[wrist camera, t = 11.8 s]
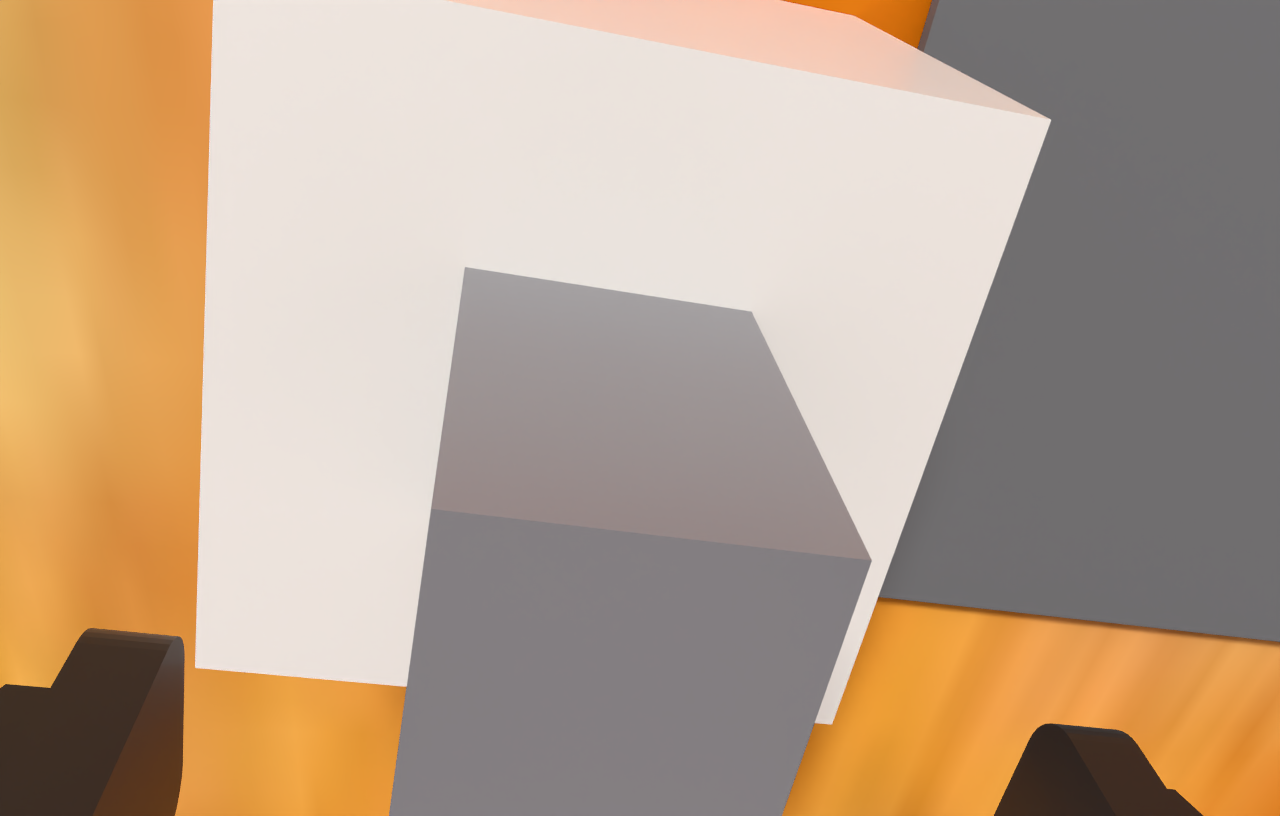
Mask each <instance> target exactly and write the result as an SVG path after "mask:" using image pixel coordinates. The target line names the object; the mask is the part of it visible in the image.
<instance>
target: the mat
mask: <svg viewBox="0 0 1280 816" xmlns="http://www.w3.org/2000/svg"><path fill="white" fill-rule="evenodd" d="M918 50H920V51H922V52H924V53H926V54H927V55H929V56H931V57H933V58H935V59H937V60H939V61H941V62H943V63H945V64H946V65H948V66H950V67H952V68H954V69H956V70H958V71H960V72H962V73H963V74H965V75H967V76H969V77H971V78H973V79H975V80H977V81H979V82H981V83H982V84H984V85H986V86H988V87H990V88H992V89H994V90H996V91H998V92H1000V93H1001V94H1003V95H1005V96H1007V97H1009V98H1011V99H1013V100H1015V101H1017V102H1018V103H1020V104H1022V105H1024V106H1026V107H1028V108H1030V109H1032V110H1034V111H1036V112H1037V113H1039V114H1041V115H1043V116H1045V117H1047V118H1049V119H1051V122H1050V125H1049V128H1048V130H1047V133H1046V136H1045V139H1044V141H1043V144H1042V147H1041V150H1040V152H1039V155H1038V158H1037V161H1036V163H1035V166H1034V169H1033V172H1032V174H1031V177H1030V180H1029V183H1028V185H1027V188H1026V191H1025V194H1024V196H1023V199H1022V202H1021V205H1020V208H1019V210H1018V213H1017V216H1016V219H1015V221H1014V224H1013V227H1012V230H1011V232H1010V235H1009V238H1008V241H1007V243H1006V246H1005V249H1004V252H1003V254H1002V257H1001V260H1000V263H999V265H998V268H997V271H996V274H995V276H994V279H993V282H992V285H991V287H990V290H989V293H988V296H987V298H986V301H985V304H984V307H983V309H982V312H981V315H980V318H979V320H978V323H977V326H976V329H975V331H974V334H973V337H972V340H971V343H970V345H969V348H968V351H967V354H966V356H965V359H964V362H963V365H962V367H961V370H960V373H959V376H958V378H957V381H956V384H955V387H954V389H953V392H952V395H951V398H950V400H949V403H948V406H947V409H946V411H945V414H944V417H943V420H942V422H941V425H940V428H939V431H938V433H937V436H936V439H935V442H934V444H933V447H932V450H931V453H930V455H929V458H928V461H927V464H926V466H925V469H924V472H923V475H922V477H921V480H920V483H919V486H918V489H917V491H916V494H915V497H914V500H913V502H912V505H911V508H910V511H909V513H908V516H907V519H906V522H905V524H904V527H903V530H902V533H901V535H900V538H899V541H898V544H897V546H896V549H895V552H894V555H893V557H892V560H891V563H890V566H889V568H888V571H887V574H886V577H885V579H884V582H883V585H882V588H881V590H880V593H879V596H878V597H884V598H893V599H902V600H911V601H920V602H929V603H938V604H947V605H956V606H965V607H974V608H983V609H992V610H1001V611H1009V612H1018V613H1027V614H1036V615H1045V616H1054V617H1063V618H1072V619H1081V620H1090V621H1099V622H1108V623H1117V624H1126V625H1135V626H1144V627H1153V628H1161V629H1170V630H1179V631H1188V632H1197V633H1206V634H1215V635H1224V636H1233V637H1242V638H1251V639H1260V640H1269V641H1278V642H1280V0H932V3H931V6H930V9H929V13H928V16H927V19H926V23H925V26H924V29H923V33H922V36H921V39H920V43H919V46H918Z"/></svg>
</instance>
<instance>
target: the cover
mask: <svg viewBox="0 0 1280 816" xmlns="http://www.w3.org/2000/svg"><path fill="white" fill-rule="evenodd" d="M1050 122H1051V119H1049V118H1047V117H1045V116H1043V115H1041V114H1039V113H1037V112H1036V111H1034V110H1032V109H1030V108H1028V107H1026V106H1024V105H1022V104H1020V103H1018V102H1017V101H1015V100H1013V99H1011V98H1009V97H1007V96H1005V95H1003V94H1001V93H1000V92H998V91H996V90H994V89H992V88H990V87H988V86H986V85H984V84H982V83H981V82H979V81H977V80H975V79H973V78H971V77H969V76H967V75H965V74H963V73H962V72H960V71H958V70H956V69H954V68H952V67H950V66H948V65H946V64H945V63H943V62H941V61H939V60H937V59H935V58H933V57H931V56H929V55H927V54H926V53H924V52H922V51H920V50H918V49H916V48H914V47H912V46H910V45H908V44H907V43H905V42H903V41H901V40H899V39H897V38H895V37H893V36H891V35H890V34H888V33H886V32H884V31H882V30H880V29H878V28H876V27H874V26H872V25H871V24H869V23H867V22H865V21H863V20H861V19H859V18H857V17H855V16H853V15H848V14H843V13H839V12H834V11H829V10H824V9H819V8H814V7H810V6H805V5H800V4H795V3H790V2H786V1H781V0H213V30H212V67H211V104H210V141H209V178H208V215H207V251H206V288H205V325H204V362H203V399H202V436H201V472H200V509H199V546H198V583H197V620H196V657H195V668H204V669H215V670H226V671H237V672H249V673H260V674H271V675H282V676H293V677H305V678H316V679H327V680H338V681H350V682H361V683H372V684H383V685H394V686H406V687H407V688H406V695H405V703H404V710H403V717H402V725H401V732H400V739H399V747H398V754H397V761H396V769H395V776H394V783H393V791H392V798H391V805H390V813H389V816H782V814H783V811H784V808H785V805H786V802H787V799H788V797H789V794H790V791H791V788H792V785H793V782H794V780H795V777H796V774H797V771H798V768H799V765H800V763H801V760H802V757H803V754H804V751H805V749H806V746H807V743H808V740H809V737H810V734H811V732H812V729H813V726H814V723H821V724H832V723H833V720H834V717H835V714H836V712H837V709H838V706H839V703H840V701H841V698H842V695H843V692H844V690H845V687H846V684H847V681H848V679H849V676H850V673H851V670H852V668H853V665H854V662H855V659H856V657H857V654H858V651H859V648H860V646H861V643H862V640H863V637H864V635H865V632H866V629H867V626H868V624H869V621H870V618H871V615H872V612H873V610H874V607H875V604H876V601H877V599H878V596H879V593H880V590H881V588H882V585H883V582H884V579H885V577H886V574H887V571H888V568H889V566H890V563H891V560H892V557H893V555H894V552H895V549H896V546H897V544H898V541H899V538H900V535H901V533H902V530H903V527H904V524H905V522H906V519H907V516H908V513H909V511H910V508H911V505H912V502H913V500H914V497H915V494H916V491H917V489H918V486H919V483H920V480H921V477H922V475H923V472H924V469H925V466H926V464H927V461H928V458H929V455H930V453H931V450H932V447H933V444H934V442H935V439H936V436H937V433H938V431H939V428H940V425H941V422H942V420H943V417H944V414H945V411H946V409H947V406H948V403H949V400H950V398H951V395H952V392H953V389H954V387H955V384H956V381H957V378H958V376H959V373H960V370H961V367H962V365H963V362H964V359H965V356H966V354H967V351H968V348H969V345H970V343H971V340H972V337H973V334H974V331H975V329H976V326H977V323H978V320H979V318H980V315H981V312H982V309H983V307H984V304H985V301H986V298H987V296H988V293H989V290H990V287H991V285H992V282H993V279H994V276H995V274H996V271H997V268H998V265H999V263H1000V260H1001V257H1002V254H1003V252H1004V249H1005V246H1006V243H1007V241H1008V238H1009V235H1010V232H1011V230H1012V227H1013V224H1014V221H1015V219H1016V216H1017V213H1018V210H1019V208H1020V205H1021V202H1022V199H1023V196H1024V194H1025V191H1026V188H1027V185H1028V183H1029V180H1030V177H1031V174H1032V172H1033V169H1034V166H1035V163H1036V161H1037V158H1038V155H1039V152H1040V150H1041V147H1042V144H1043V141H1044V139H1045V136H1046V133H1047V130H1048V128H1049V125H1050Z"/></svg>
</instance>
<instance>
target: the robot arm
mask: <svg viewBox="0 0 1280 816" xmlns="http://www.w3.org/2000/svg"><path fill="white" fill-rule="evenodd" d="M183 715H184V644H183V640H182V639H181V637H178V636H168V635H158V634H147V633H137V632H127V631H116V630H106V629H96V628H90V629H87V630H86V631H85V632H84V633H83V634H82V635H81V636H80V638H79V639H78V641H77V643H76V644H75V646H74V648H73V650H72V651H71V653H70V655H69V657H68V658H67V660H66V662H65V664H64V665H63V667H62V669H61V671H60V672H59V674H58V676H57V678H56V679H55V681H54V683H53V684H52V686H51V688H43V687H32V686H21V685H9V684H5V685H4V686H3V687H1V688H0V816H175V812H176V808H177V803H178V798H179V792H180V786H181V778H182V767H183ZM994 816H1203V815H1202V814H1201V813H1200V812H1199V811H1197V810H1196V809H1195V808H1194V807H1193V806H1192V805H1191V804H1190V803H1189V802H1188V801H1186V800H1185V799H1184V798H1183V797H1182V796H1181V795H1180V794H1179V793H1178V792H1177V791H1176V790H1173V789H1167V788H1166V787H1165V785H1164V784H1163V782H1162V781H1161V779H1160V778H1159V776H1158V775H1157V773H1156V772H1155V770H1154V769H1153V767H1152V766H1151V764H1150V763H1149V761H1148V760H1147V758H1146V757H1145V755H1144V754H1143V752H1142V751H1141V749H1140V748H1139V746H1138V745H1137V744H1136V742H1135V741H1134V740H1133V739H1132V738H1131V737H1130V736H1129V735H1128V734H1126V733H1124V732H1122V731H1119V730H1113V729H1102V728H1092V727H1082V726H1071V725H1061V724H1044V725H1042V726H1040V727H1039V728H1038V729H1036V731H1035V732H1034V733H1033V734H1032V736H1031V738H1030V740H1029V742H1028V744H1027V746H1026V748H1025V750H1024V752H1023V754H1022V757H1021V759H1020V761H1019V763H1018V765H1017V767H1016V769H1015V771H1014V774H1013V776H1012V778H1011V780H1010V782H1009V784H1008V786H1007V789H1006V791H1005V793H1004V795H1003V797H1002V799H1001V801H1000V803H999V806H998V808H997V810H996V812H995V814H994Z"/></svg>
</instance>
